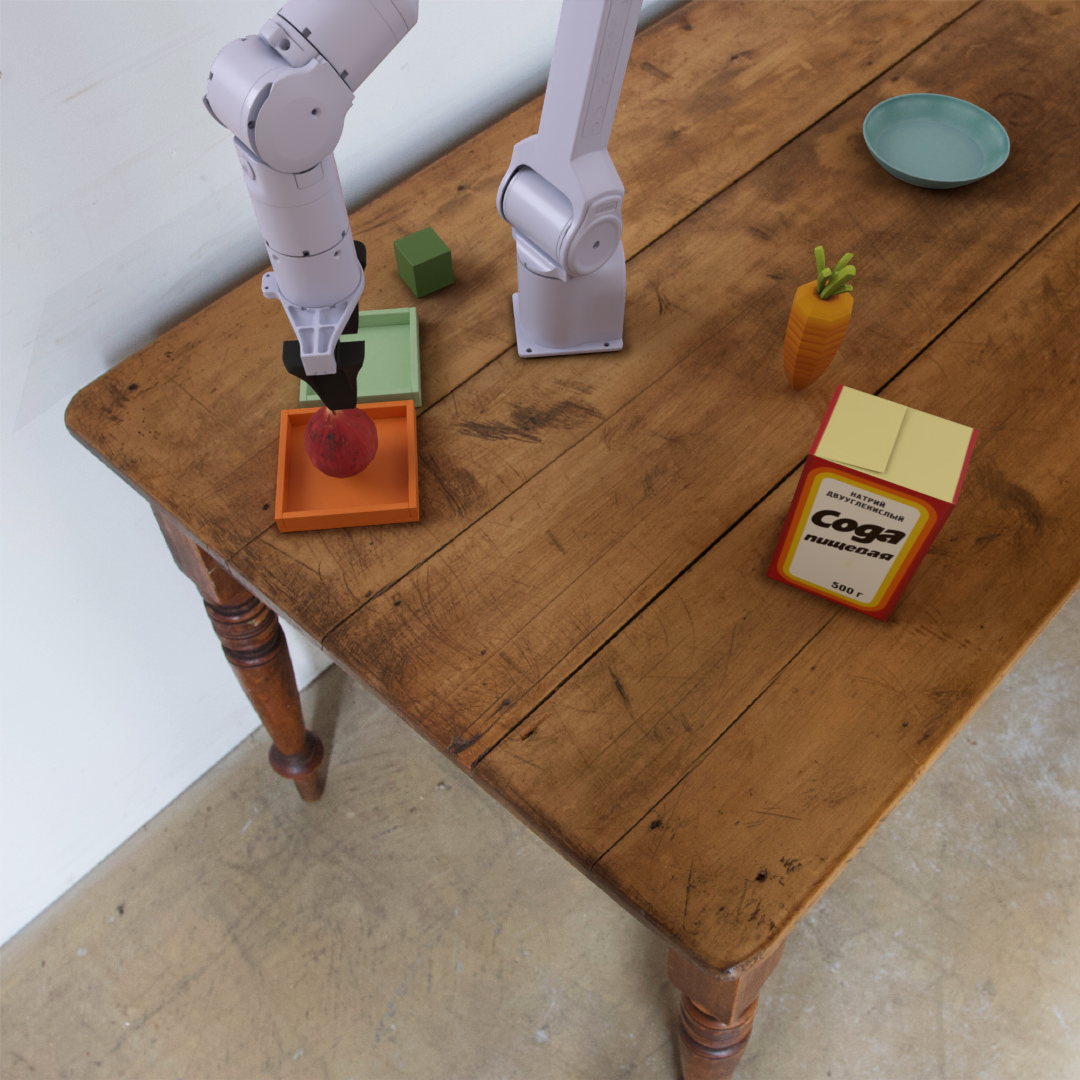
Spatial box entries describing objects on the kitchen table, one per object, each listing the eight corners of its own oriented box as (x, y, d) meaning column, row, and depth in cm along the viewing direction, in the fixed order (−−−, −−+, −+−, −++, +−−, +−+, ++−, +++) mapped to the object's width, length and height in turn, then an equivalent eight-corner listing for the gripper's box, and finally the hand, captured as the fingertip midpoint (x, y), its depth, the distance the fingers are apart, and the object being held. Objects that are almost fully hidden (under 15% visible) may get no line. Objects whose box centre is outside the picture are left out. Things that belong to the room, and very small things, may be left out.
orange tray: (416, 414, 86) (413, 399, 85) (419, 521, 80) (416, 507, 79) (286, 424, 86) (281, 409, 84) (280, 533, 80) (274, 519, 78)
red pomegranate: (372, 502, 81) (356, 441, 74) (305, 491, 81) (282, 429, 75) (392, 446, 84) (378, 383, 77) (327, 436, 84) (307, 372, 78)
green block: (434, 258, 97) (430, 225, 93) (454, 282, 95) (451, 250, 92) (398, 274, 96) (392, 241, 92) (417, 299, 94) (412, 266, 90)
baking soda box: (907, 555, 78) (981, 426, 65) (885, 622, 75) (958, 501, 61) (791, 512, 80) (839, 380, 67) (765, 576, 77) (809, 449, 64)
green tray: (418, 322, 92) (416, 306, 91) (421, 406, 87) (418, 391, 85) (308, 330, 92) (303, 315, 90) (304, 416, 86) (299, 401, 85)
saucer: (1019, 142, 105) (1029, 120, 103) (972, 222, 99) (982, 199, 96) (888, 98, 110) (895, 76, 107) (834, 171, 103) (840, 149, 101)
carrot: (762, 370, 89) (797, 237, 76) (817, 366, 89) (861, 232, 76) (774, 413, 86) (812, 282, 73) (831, 409, 86) (879, 278, 73)
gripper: (252, 161, 69) (296, 304, 81) (235, 311, 61) (286, 445, 73) (354, 154, 69) (383, 298, 81) (350, 303, 62) (382, 438, 73)
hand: (343, 367), depth 77 cm, fingers open, 7 cm apart
